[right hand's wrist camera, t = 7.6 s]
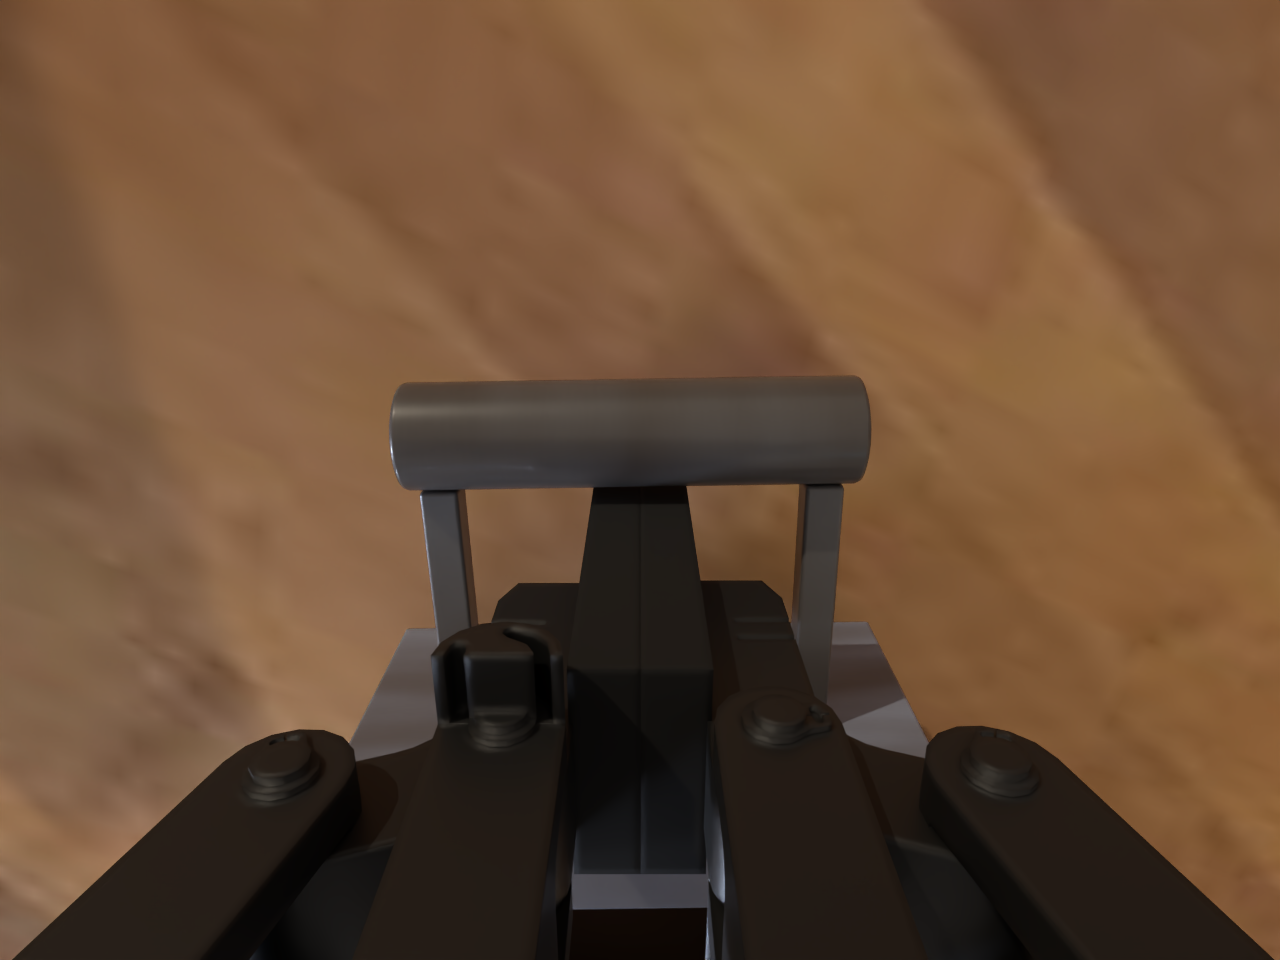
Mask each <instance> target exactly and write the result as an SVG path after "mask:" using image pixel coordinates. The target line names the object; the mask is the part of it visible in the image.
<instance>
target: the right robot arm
mask: <svg viewBox="0 0 1280 960" xmlns="http://www.w3.org/2000/svg"><path fill="white" fill-rule="evenodd" d="M431 665H432V674H433V684H434V693H435V703H436V713H437V722H438V725H437V728H436V730H435V733H434V736H433V738H432V739H430V740H428V741H426V742H424V743H422V744H420V745H418V746H415V747H413V748H409V749H406V750H403V751H399V752H396V753H392V754H387V755H383V756H378V757H374V758H369V759H364V760H360V761H356V760H355V753H354V749H353V748H352V747H351V745H350V744H349V743H348V742H347V741H346V740H345V739H344V738H343V737H342V736H339V735H336V734H333V733H330V732H328V731H325V730H300V729H299V730H294V731H289V732H283V733H279V734H274V735H271V736H268V737H266V738H264V739H261V740H259V741H257V742H254V743H252V744H250V745H247V746H245V747H244V748H242V749H241V750H240V751H238V752H237V753H235V754H234V755H233V756H231V757H230V758H228V759H227V760H226V761H224V762H223V763H222V764H221V765H220V766H219V767H218V768H216V769H215V770H214V771H213V772H212V773H211V774H210V775H209V776H208V777H207V778H206V779H205V780H204V781H203V782H202V783H200V784H199V785H198V786H197V787H196V788H195V789H194V790H193V791H192V792H191V793H190V794H189V795H188V796H187V797H185V798H184V799H183V800H182V801H181V802H180V803H179V804H178V805H177V806H176V807H175V808H174V809H173V810H172V811H171V812H169V813H168V814H167V815H166V816H165V817H164V818H163V819H162V820H161V821H160V822H159V823H158V824H157V825H156V826H155V827H153V828H152V829H151V830H150V831H149V832H148V833H147V834H146V835H145V836H144V837H143V838H142V839H141V840H140V841H138V842H137V843H136V844H135V845H134V846H133V847H132V848H131V849H130V850H129V851H128V852H127V853H126V854H125V855H124V856H122V857H121V858H120V859H119V860H118V861H117V862H116V863H115V864H114V865H113V866H112V867H111V868H110V869H109V870H107V871H106V872H105V873H104V874H103V875H102V876H101V877H100V878H99V879H98V880H97V881H96V882H95V883H94V884H93V885H91V886H90V887H89V888H88V889H87V890H86V891H85V892H84V893H83V894H82V895H81V896H80V897H79V898H78V899H77V900H75V901H74V902H73V903H72V904H71V905H70V906H69V907H68V908H67V909H66V910H65V911H64V912H63V913H62V914H60V915H59V916H58V917H57V918H56V919H55V920H54V921H53V922H52V923H51V924H50V925H49V926H48V927H47V928H46V929H44V930H43V931H42V932H41V933H40V934H39V935H38V936H37V937H36V938H35V939H34V940H33V941H32V942H31V943H30V944H28V945H27V946H26V947H25V948H24V949H23V950H22V951H21V952H20V953H19V954H18V955H17V956H16V957H15V958H13V959H12V960H569V955H570V943H571V932H572V920H573V904H572V871H573V861H574V874H706V858H707V866H708V876H709V878H708V904H707V930H706V956H705V960H1274V959H1273V958H1272V957H1271V956H1270V955H1269V954H1268V953H1267V952H1265V951H1264V950H1263V949H1262V948H1261V947H1260V946H1259V945H1258V944H1257V943H1256V942H1255V941H1254V940H1253V939H1251V938H1250V937H1249V936H1248V935H1247V934H1246V933H1245V932H1244V931H1243V930H1242V929H1241V928H1240V927H1239V926H1237V925H1236V924H1235V923H1234V922H1233V921H1232V920H1231V919H1230V918H1229V917H1228V916H1227V915H1226V914H1225V913H1223V912H1222V911H1221V910H1220V909H1219V908H1218V907H1217V906H1216V905H1215V904H1214V903H1213V902H1212V901H1211V900H1209V899H1208V898H1207V897H1206V896H1205V895H1204V894H1203V893H1202V892H1201V891H1200V890H1199V889H1198V888H1197V887H1195V886H1194V885H1193V884H1192V883H1191V882H1190V881H1189V880H1188V879H1187V878H1186V877H1185V876H1184V875H1183V874H1182V873H1180V872H1179V871H1178V870H1177V869H1176V868H1175V867H1174V866H1173V865H1172V864H1171V863H1170V862H1169V861H1168V860H1166V859H1165V858H1164V857H1163V856H1162V855H1161V854H1160V853H1159V852H1158V851H1157V850H1156V849H1155V848H1154V847H1152V846H1151V845H1150V844H1149V843H1148V842H1147V841H1146V840H1145V839H1144V838H1143V837H1142V836H1141V835H1140V834H1138V833H1137V832H1136V831H1135V830H1134V829H1133V828H1132V827H1131V826H1130V825H1129V824H1128V823H1127V822H1126V821H1124V820H1123V819H1122V818H1121V817H1120V816H1119V815H1118V814H1117V813H1116V812H1115V811H1114V810H1113V809H1112V808H1110V807H1109V806H1108V805H1107V804H1106V803H1105V802H1104V801H1103V800H1102V799H1101V798H1100V797H1099V796H1098V795H1096V794H1095V793H1094V792H1093V791H1092V790H1091V789H1090V788H1089V787H1088V786H1087V785H1086V784H1085V783H1084V782H1082V781H1081V780H1080V779H1079V778H1078V777H1077V776H1076V775H1075V774H1074V773H1073V772H1072V771H1071V770H1070V769H1068V768H1067V767H1066V766H1065V765H1064V764H1063V763H1062V762H1061V761H1060V760H1059V759H1058V758H1056V757H1055V756H1053V755H1052V754H1051V753H1049V752H1048V751H1046V750H1045V749H1044V748H1042V747H1041V746H1039V745H1038V744H1037V743H1035V742H1033V741H1030V740H1028V739H1026V738H1023V737H1021V736H1019V735H1016V734H1014V733H1011V732H1009V731H1004V730H1000V729H994V728H990V727H985V726H959V727H954V728H951V729H949V730H946V731H943V732H940V733H938V734H937V735H936V736H935V737H934V738H933V739H932V740H931V741H930V742H929V744H928V745H927V747H926V753H925V758H922V757H918V756H913V755H909V754H904V753H899V752H895V751H890V750H886V749H882V748H879V747H876V746H872V745H869V744H866V743H863V742H861V741H859V740H857V739H855V738H853V737H851V736H848V735H847V734H846V732H845V729H844V727H843V724H842V722H841V721H840V719H839V718H838V716H837V715H836V713H835V712H834V710H833V709H832V708H831V707H829V706H828V705H827V704H825V703H824V702H822V701H821V700H819V699H818V698H816V697H815V696H814V693H813V690H812V687H811V684H810V681H809V678H808V675H807V672H806V669H805V666H804V663H803V660H802V657H801V654H800V651H799V648H798V645H797V642H796V639H794V633H793V630H792V627H791V624H790V622H789V618H788V615H787V612H786V609H785V606H784V603H783V600H782V598H781V597H780V596H779V595H778V594H776V593H775V592H774V591H773V590H772V589H771V588H770V587H768V586H767V585H766V584H765V583H764V582H763V581H700V575H699V569H698V562H697V555H696V548H695V542H694V535H693V528H692V521H691V515H690V508H689V501H688V495H687V488H686V486H658V487H595V488H593V495H592V502H591V509H590V515H589V522H588V529H587V535H586V542H585V549H584V556H583V562H582V569H581V576H580V583H518V584H517V585H516V586H515V587H514V588H513V589H511V590H510V591H509V592H508V593H507V594H506V595H504V596H503V597H502V598H501V599H500V600H499V601H498V604H497V607H496V610H495V613H494V616H493V619H492V623H486V624H480V625H477V626H474V627H471V628H467V629H464V630H461V631H459V632H457V633H455V634H454V635H452V636H450V637H449V638H447V639H445V640H444V641H442V642H441V643H440V644H439V645H438V647H437V648H436V649H435V650H434V652H433V653H432V654H431Z"/></svg>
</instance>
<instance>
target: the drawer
mask: <svg viewBox="0 0 1280 960" xmlns="http://www.w3.org/2000/svg"><path fill="white" fill-rule="evenodd" d="M389 442H390V453H391V459H392V464H393V468H394V471H395V474H396V477H397V479H398V482H399V483H400V485H401V486H402V487H403V488H405V489H407V490H423V491H422V492H421V494H420V501H421V509H422V518H423V526H424V534H425V542H426V551H427V559H428V567H429V575H430V584H431V592H432V600H433V608H434V617H435V625H436V628H416V629H407V630H406V632H405V634H404V636H403V638H402V640H401V642H400V644H399V645H398V647H397V649H396V651H395V653H394V655H393V657H392V659H391V661H390V663H389V665H388V667H387V669H386V671H385V673H384V675H383V677H382V679H381V681H380V683H379V685H378V687H377V689H376V691H375V693H374V695H373V697H372V699H371V701H370V703H369V705H368V707H367V709H366V711H365V713H364V715H363V717H362V719H361V721H360V723H359V725H358V727H357V729H356V731H355V733H354V735H353V737H352V739H351V741H350V743H349V744H350V745H351V747H352V748H353V749H354V753H355V760H356V761H360V760H364V759H369V758H374V757H378V756H383V755H387V754H392V753H396V752H399V751H403V750H406V749H409V748H413V747H415V746H418V745H420V744H422V743H424V742H426V741H428V740H430V739H432V738H433V736H434V733H435V730H436V728H437V725H438V722H437V713H436V703H435V693H434V684H433V674H432V665H431V654H432V653H433V652H434V650H435V649H436V648H437V647H438V645H439V644H440V643H441V642H442V641H444V640H445V639H447V638H449V637H450V636H452V635H454V634H455V633H457V632H459V631H461V630H464V629H467V628H471V627H474V626H477V625H478V616H477V606H476V596H475V586H474V576H473V566H472V556H471V546H470V536H469V526H468V516H467V506H466V496H465V490H469V489H532V488H595V487H658V486H721V485H785V484H799V501H798V519H797V536H796V553H795V570H794V588H793V605H792V622H791V623H790V624H791V627H792V630H793V633H794V639H796V642H797V645H798V648H799V651H800V654H801V657H802V660H803V663H804V666H805V669H806V672H807V675H808V678H809V681H810V684H811V687H812V690H813V693H814V696H815V697H816V698H818V699H819V700H821V701H822V702H824V703H825V704H827V705H828V706H829V707H831V708H832V709H833V710H834V712H835V713H836V715H837V716H838V718H839V719H840V721H841V722H842V724H843V727H844V729H845V732H846V734H847V735H848V736H851V737H853V738H855V739H857V740H859V741H861V742H863V743H866V744H869V745H872V746H876V747H879V748H882V749H886V750H890V751H895V752H899V753H904V754H909V755H913V756H918V757H922V758H925V753H926V747H927V745H928V744H929V742H928V740H927V738H926V736H925V734H924V732H923V730H922V728H921V726H920V724H919V722H918V720H917V718H916V716H915V714H914V712H913V710H912V708H911V706H910V704H909V703H908V701H907V699H906V697H905V695H904V693H903V691H902V689H901V687H900V685H899V683H898V681H897V679H896V677H895V675H894V673H893V671H892V669H891V667H890V665H889V663H888V661H887V659H886V657H885V655H884V653H883V651H882V649H881V647H880V645H879V643H878V641H877V640H876V638H875V636H874V634H873V632H872V630H871V628H870V626H869V624H868V623H867V622H833V621H834V609H835V596H836V583H837V571H838V558H839V545H840V533H841V520H842V507H843V495H844V488H843V486H842V484H848V483H856V482H858V481H860V480H861V479H862V477H863V475H864V473H865V470H866V467H867V463H868V459H869V453H870V445H871V413H870V405H869V399H868V395H867V392H866V388H865V386H864V383H863V381H862V380H861V379H860V378H859V377H857V376H854V375H846V376H784V377H722V378H661V379H599V380H538V381H476V382H415V383H404V384H402V385H400V386H399V387H398V388H397V390H396V392H395V395H394V398H393V401H392V406H391V412H390V421H389ZM708 878H709V876H708V866H707V858H706V874H574V861H573V871H572V904H573V920H572V932H571V943H570V955H569V960H705V956H706V930H707V904H708Z"/></svg>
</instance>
